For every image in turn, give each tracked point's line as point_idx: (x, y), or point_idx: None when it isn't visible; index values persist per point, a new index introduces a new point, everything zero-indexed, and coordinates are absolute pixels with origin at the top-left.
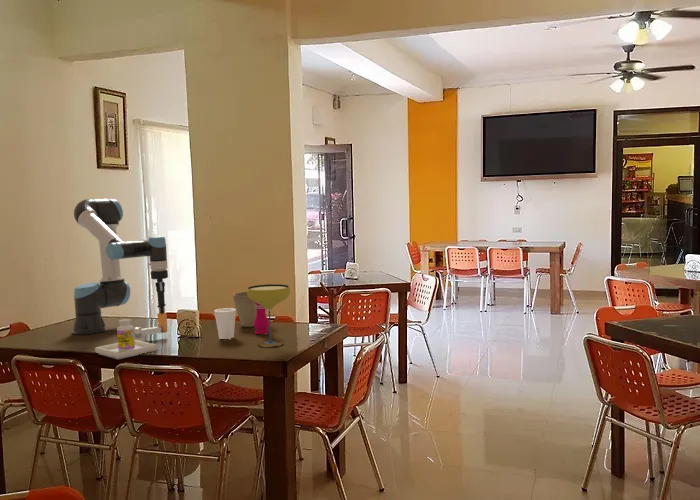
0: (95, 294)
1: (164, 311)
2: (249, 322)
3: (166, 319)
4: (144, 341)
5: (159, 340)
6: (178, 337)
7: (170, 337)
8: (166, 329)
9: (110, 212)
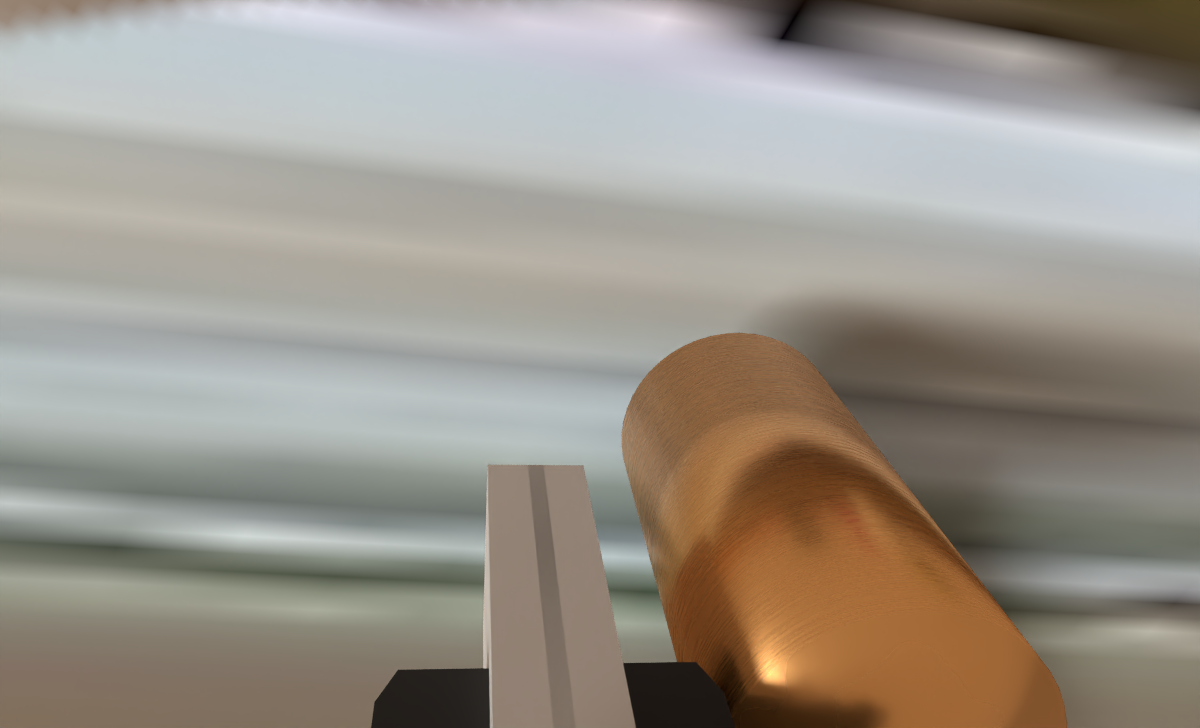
0: None
1: (619, 684)
2: None
3: (897, 498)
4: None
5: None
6: (798, 47)
7: (689, 220)
8: (822, 382)
9: None
